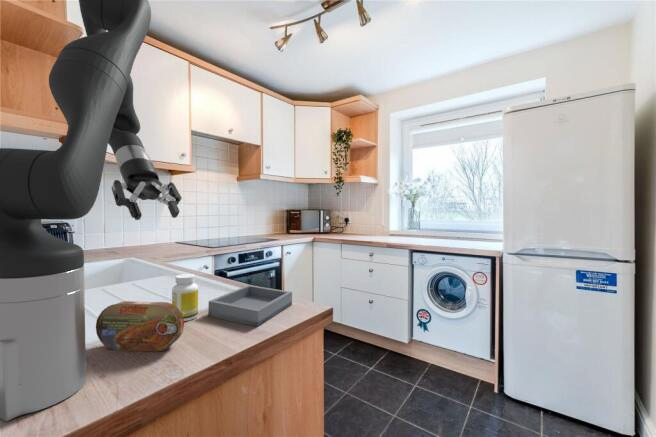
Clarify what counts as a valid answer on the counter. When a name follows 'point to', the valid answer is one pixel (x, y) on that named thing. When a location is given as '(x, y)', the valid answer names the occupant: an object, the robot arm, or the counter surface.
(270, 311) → the tray
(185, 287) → the supplement bottle
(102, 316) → the tin
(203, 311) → the counter surface
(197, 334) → the counter surface
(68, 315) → the robot arm
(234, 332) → the counter surface
